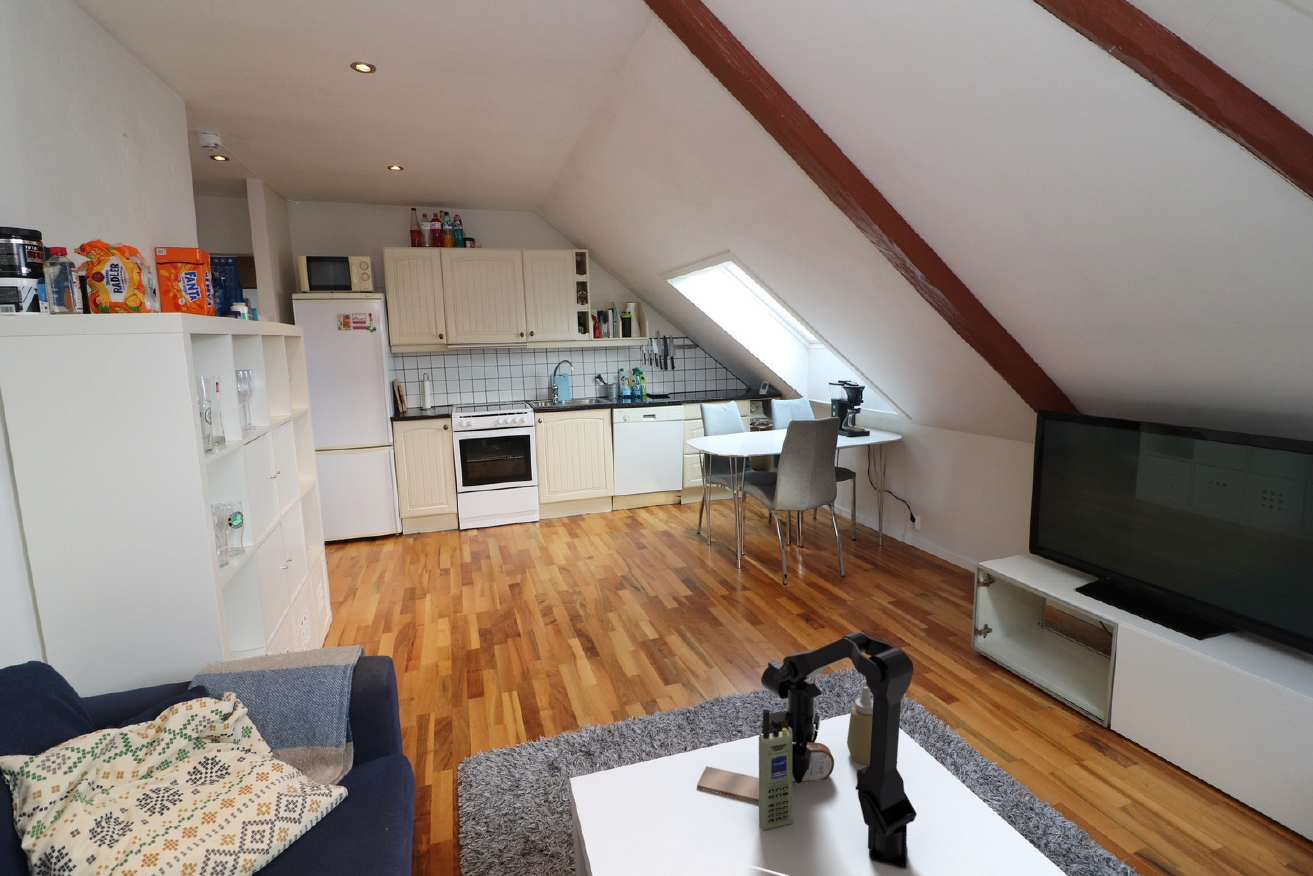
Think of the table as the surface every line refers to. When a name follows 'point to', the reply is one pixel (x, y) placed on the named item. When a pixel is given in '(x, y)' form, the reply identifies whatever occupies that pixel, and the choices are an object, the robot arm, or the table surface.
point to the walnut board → (730, 784)
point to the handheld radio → (775, 776)
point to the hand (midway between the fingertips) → (800, 773)
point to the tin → (818, 763)
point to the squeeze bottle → (861, 728)
